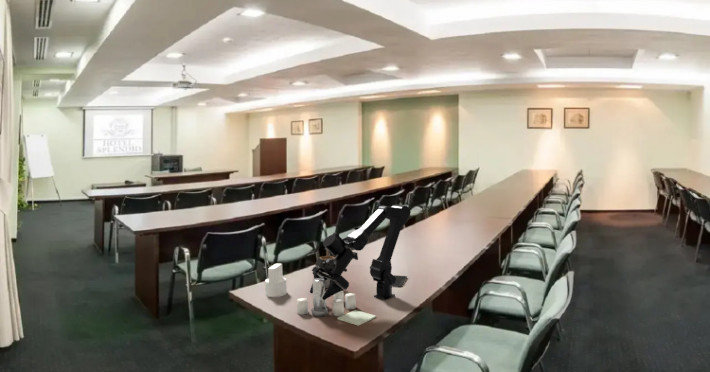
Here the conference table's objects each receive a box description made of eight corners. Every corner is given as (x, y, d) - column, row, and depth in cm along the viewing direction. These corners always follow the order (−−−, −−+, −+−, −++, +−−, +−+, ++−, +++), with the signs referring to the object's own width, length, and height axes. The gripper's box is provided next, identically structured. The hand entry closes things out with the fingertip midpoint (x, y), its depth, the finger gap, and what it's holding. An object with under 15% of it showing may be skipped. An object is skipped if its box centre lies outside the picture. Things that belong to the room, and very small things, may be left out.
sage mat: (355, 311, 173) (355, 309, 173) (376, 317, 166) (376, 315, 166) (337, 319, 165) (337, 317, 165) (358, 325, 159) (358, 324, 159)
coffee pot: (340, 289, 200) (339, 255, 199) (313, 289, 200) (312, 256, 199) (341, 275, 221) (340, 245, 220) (317, 276, 221) (316, 245, 220)
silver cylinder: (319, 309, 175) (318, 276, 174) (331, 313, 171) (330, 279, 170) (308, 314, 171) (307, 280, 169) (319, 318, 167) (318, 283, 166)
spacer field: (333, 298, 188) (332, 286, 188) (363, 306, 178) (362, 293, 177) (295, 313, 172) (294, 300, 172) (325, 322, 162) (325, 309, 162)
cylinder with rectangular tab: (282, 297, 191) (281, 269, 190) (262, 296, 193) (261, 268, 192) (289, 290, 200) (288, 263, 198) (270, 289, 201) (269, 263, 200)
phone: (384, 284, 203) (391, 275, 217) (384, 287, 203) (391, 277, 217) (401, 285, 201) (407, 276, 215) (401, 288, 201) (407, 278, 215)
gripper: (315, 245, 179) (291, 278, 174) (341, 254, 164) (315, 290, 158) (332, 262, 184) (309, 294, 179) (359, 271, 169) (335, 307, 163)
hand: (316, 296), depth 170 cm, fingers open, 9 cm apart
